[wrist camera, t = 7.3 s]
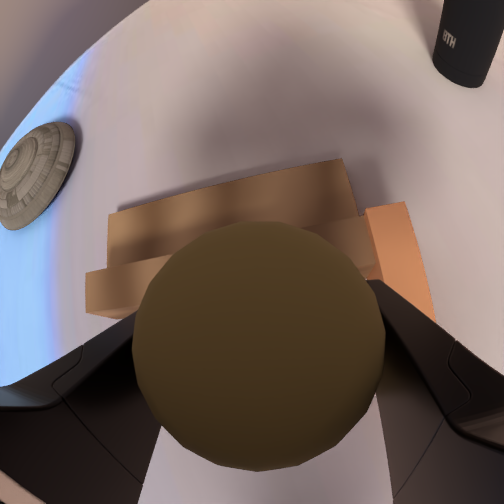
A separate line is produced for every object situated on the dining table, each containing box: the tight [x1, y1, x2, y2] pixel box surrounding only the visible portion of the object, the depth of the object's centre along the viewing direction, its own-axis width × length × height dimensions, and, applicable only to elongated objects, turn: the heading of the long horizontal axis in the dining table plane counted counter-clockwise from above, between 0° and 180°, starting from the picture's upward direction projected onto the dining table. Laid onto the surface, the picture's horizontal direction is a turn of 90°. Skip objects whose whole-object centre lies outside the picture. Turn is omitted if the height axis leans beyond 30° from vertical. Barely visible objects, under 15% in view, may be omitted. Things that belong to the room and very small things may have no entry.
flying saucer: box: [0, 122, 75, 230], centre depth 30 cm, size 15×15×6 cm
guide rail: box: [85, 158, 436, 323], centre depth 20 cm, size 22×17×5 cm
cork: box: [132, 221, 386, 472], centre depth 10 cm, size 6×6×11 cm
